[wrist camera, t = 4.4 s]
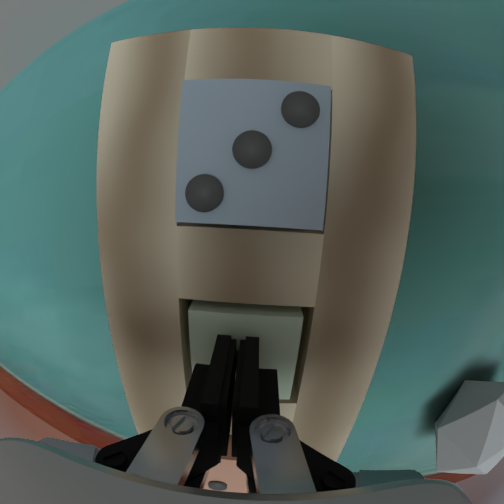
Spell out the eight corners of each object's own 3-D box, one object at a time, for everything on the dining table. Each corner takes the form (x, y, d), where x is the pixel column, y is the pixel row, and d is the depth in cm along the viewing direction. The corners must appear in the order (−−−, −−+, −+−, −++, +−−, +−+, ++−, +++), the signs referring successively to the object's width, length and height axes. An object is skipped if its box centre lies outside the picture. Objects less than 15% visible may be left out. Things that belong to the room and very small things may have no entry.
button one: (295, 287, 13) (304, 319, 10) (285, 362, 15) (289, 402, 12) (202, 281, 14) (186, 312, 10) (204, 356, 15) (192, 395, 12)
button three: (313, 107, 10) (332, 84, 7) (307, 216, 11) (324, 231, 8) (202, 102, 10) (181, 78, 7) (197, 209, 11) (173, 223, 8)
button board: (377, 81, 12) (412, 55, 8) (314, 452, 18) (320, 490, 15) (146, 70, 12) (111, 42, 8) (167, 442, 19) (155, 478, 15)
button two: (279, 422, 14) (281, 465, 11) (272, 459, 15) (272, 496, 12) (203, 416, 14) (193, 458, 11) (207, 454, 16) (200, 491, 12)
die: (402, 409, 18) (422, 504, 12) (490, 366, 12) (514, 484, 6) (447, 388, 21) (466, 466, 15) (515, 347, 15) (538, 437, 9)
